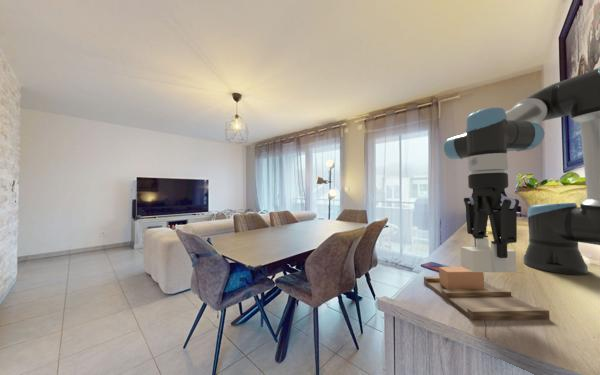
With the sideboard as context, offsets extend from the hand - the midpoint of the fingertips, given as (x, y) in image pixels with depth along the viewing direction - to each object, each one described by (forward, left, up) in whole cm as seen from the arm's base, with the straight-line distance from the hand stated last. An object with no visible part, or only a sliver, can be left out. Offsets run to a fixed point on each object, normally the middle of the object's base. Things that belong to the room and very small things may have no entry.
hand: (490, 266), depth 54 cm
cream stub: (+1, 0, -1) cm, 1 cm away
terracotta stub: (0, -10, -9) cm, 14 cm away
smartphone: (-5, -25, -11) cm, 28 cm away
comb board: (0, -5, -10) cm, 12 cm away
